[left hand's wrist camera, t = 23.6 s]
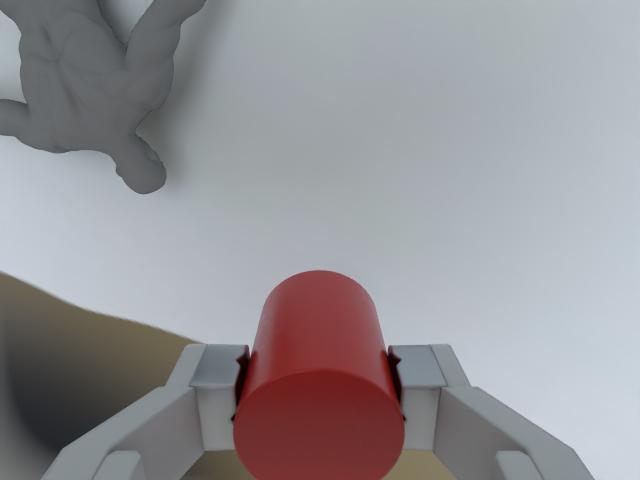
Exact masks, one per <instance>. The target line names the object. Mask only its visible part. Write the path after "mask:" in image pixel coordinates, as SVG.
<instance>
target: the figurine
mask: <svg viewBox="0 0 640 480" xmlns="http://www.w3.org/2000/svg"><path fill="white" fill-rule="evenodd" d="M205 1H206V0H154V1H153V3H152V4H151V6H150V7H149V8H148V9H147V10H146V12H145V13H144V14H143V16H142V17H141V18H140V20H139V21H138V23H137V24H136V25H135V27H134V28H133V30H132V32H131V35H130V38H129V41H128V46H127V51H126V50H125V47H124V46H123V45H122V44H121V43H120V41H118V40H117V39H116V36H115V34H114V32H113V31H112V30H111V27H110V26H109V24H108V23H107V22H106V21H105V20H104V19H103V17H102V16H101V13H100V9H99V5H98V2H97V0H0V10H1V11H2V12H3V13H4V14H5V15H7V16H8V17H9V18H11V19H12V20H13V21H14V22H15V23H16V24H17V26H18V28H19V30H20V31H21V34H22V36H21V39H20V43H19V53H20V57H21V68H20V78H21V84H22V91H23V94H24V97H25V100H26V102H27V104H25V103H22V102H18V101H13V100H8V99H0V135H5V136H15V137H16V138H17V139H18V140H19V141H21V142H22V143H24V144H26V145H28V146H30V147H33V148H35V149H39V150H45V151H48V152H52V153H65V152H68V151H77V150H95V151H100V152H103V153H106V154H108V155H110V156H111V157H112V159H113V160H114V162H115V163H116V165H117V166H116V173H117V174H118V175H119V176H121V177H122V178H123V180H124V182H125V183H126V184H127V185H128V186H129V187H130V188H131V189H132V190H133V191H135V192H137V193H139V194H148V193H151V192H154V191H156V190H158V189H160V188H161V187H162V186H163V185H164V183H165V181H166V169H165V167H164V165H163V162H161V161H160V159H159V156H158V154H157V153H156V152H155V151H153V150H152V149H151V148H150V146H149V145H148V143H146V142H145V141H144V140H143V139H142V138H140V137H138V136H137V135H136V133H135V128H136V127H137V126H138V125H139V123H140V122H141V120H142V119H144V118H145V117H146V116H147V115H148V114H149V113H150V112H151V111H153V110H157V109H159V108H160V107H161V105H162V104H163V102H164V101H165V99H166V97H167V96H168V94H169V91H170V89H171V84H172V79H173V54H174V52H175V50H176V48H177V45H178V43H179V38H180V26H181V24H182V23H183V22H184V21H185V20H186V19H187V18H188V17H190V16H192V15H194V14H195V13H196V12H198V11H199V10H200V9H201V8H202V7H203V5H204V3H205Z"/></svg>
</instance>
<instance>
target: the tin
mask: <svg viewBox="0 0 640 480" xmlns="http://www.w3.org/2000/svg"><path fill="white" fill-rule="evenodd" d="M404 439H405V425H404V421H403V416H402V412H401V408H400V404H399V400H398V396H397V392H396V388H395V384H394V380H393V376H392V372H391V368H390V364H389V360H388V356H387V352H386V348H385V344H384V340H383V336H382V332H381V328H380V324H379V320H378V316H377V312H376V308H375V305H374V303H373V301H372V299H371V297H370V295H369V294H368V293H367V292H366V290H365V289H364V288H363V287H362V286H361V285H359V284H358V283H357V282H356V281H354V280H352V279H351V278H349V277H347V276H344V275H342V274H339V273H336V272H331V271H323V270H315V271H307V272H303V273H299V274H296V275H294V276H292V277H290V278H288V279H286V280H284V281H283V282H281V283H280V284H279V285H278V286H277V287H276V288H275V289H274V290H273V291H272V292H271V293H270V295H269V296H268V298H267V299H266V302H265V304H264V306H263V310H262V314H261V317H260V321H259V325H258V329H257V333H256V337H255V341H254V345H253V349H252V353H251V357H250V361H249V364H248V368H247V372H246V376H245V380H244V384H243V388H242V392H241V396H240V400H239V404H238V408H237V411H236V415H235V419H234V424H233V441H234V445H235V449H236V452H237V455H238V457H239V459H240V461H241V462H242V464H243V466H244V467H245V468H246V469H247V471H248V472H249V473H250V474H251V475H252V476H253V477H254V478H256V479H257V480H381V479H382V478H383V477H385V476H386V475H387V474H388V473H389V471H390V470H391V469H392V468H393V467H394V465H395V464H396V462H397V460H398V458H399V456H400V454H401V451H402V448H403V445H404Z"/></svg>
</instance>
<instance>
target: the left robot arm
mask: <svg viewBox="0 0 640 480" xmlns="http://www.w3.org/2000/svg"><path fill="white" fill-rule="evenodd" d="M387 356H388V360H389V364H390V368H391V372H392V376H393V380H394V384H395V388H396V392H397V396H398V400H399V404H400V408H401V412H402V416H403V421H404V425H405V439H404V445H403V448H402V450H425V451H433V453H434V454H435V455H436V456H437V457H438V458H439V459H440V461H441V462H442V463H443V464H444V465H445V466H446V467H447V468H448V469H449V470H450V472H451V473H452V474H453V475H454V476H455V477H456V478H457V479H458V480H595V479H594V478H593V476H592V475H591V474H590V472H589V471H588V469H587V468H586V466H585V465H584V464H583V462H582V461H581V459H580V458H579V456H578V455H577V453H576V452H575V451H574V449H572V448H571V447H569V446H568V445H566V444H565V443H563V442H562V441H560V440H558V439H557V438H555V437H554V436H552V435H551V434H549V433H548V432H546V431H545V430H543V429H542V428H540V427H539V426H537V425H536V424H534V423H532V422H531V421H529V420H528V419H526V418H525V417H523V416H522V415H520V414H519V413H517V412H516V411H514V410H513V409H511V408H509V407H508V406H506V405H505V404H503V403H502V402H500V401H499V400H497V399H496V398H494V397H493V396H491V395H490V394H488V393H487V392H485V391H483V390H482V389H480V388H479V387H472V386H471V384H470V382H469V380H468V378H467V376H466V374H465V373H464V371H463V369H462V367H461V365H460V363H459V361H458V359H457V357H456V355H455V353H454V351H453V349H452V347H451V346H450V345H449V344H428V345H389V347H388V354H387ZM249 361H250V353H249V347H248V345H225V344H209V345H208V344H189V345H187V346H186V347H185V349H184V351H183V353H182V355H181V356H180V358H179V360H178V362H177V364H176V366H175V368H174V370H173V372H172V374H171V376H170V378H169V380H168V381H167V383H166V385H165V387H158V388H156V389H155V390H153V391H151V392H150V393H148V394H147V395H145V396H144V397H142V398H141V399H139V400H138V401H136V402H134V403H133V404H131V405H130V406H128V407H127V408H125V409H124V410H122V411H121V412H119V413H117V414H116V415H114V416H113V417H111V418H110V419H108V420H107V421H105V422H103V423H102V424H100V425H99V426H97V427H96V428H94V429H93V430H91V431H89V432H88V433H86V434H85V435H83V436H82V437H80V438H79V439H77V440H76V441H74V442H72V443H71V444H69V445H68V446H66V447H65V448H63V449H62V451H61V452H60V453H59V455H58V456H57V458H56V459H55V460H54V462H53V463H52V465H51V466H50V467H49V469H48V470H47V472H46V473H45V475H44V476H43V477H42V479H41V480H179V479H180V478H181V477H182V476H183V475H184V474H185V472H186V471H187V470H188V469H189V468H190V467H191V466H192V465H193V464H194V463H195V462H196V461H197V459H198V458H199V457H200V456H201V455H202V454H203V453H204V452H203V451H211V450H236V449H235V445H234V441H233V424H234V419H235V415H236V411H237V408H238V404H239V400H240V396H241V392H242V388H243V384H244V380H245V376H246V372H247V368H248V364H249Z"/></svg>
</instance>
